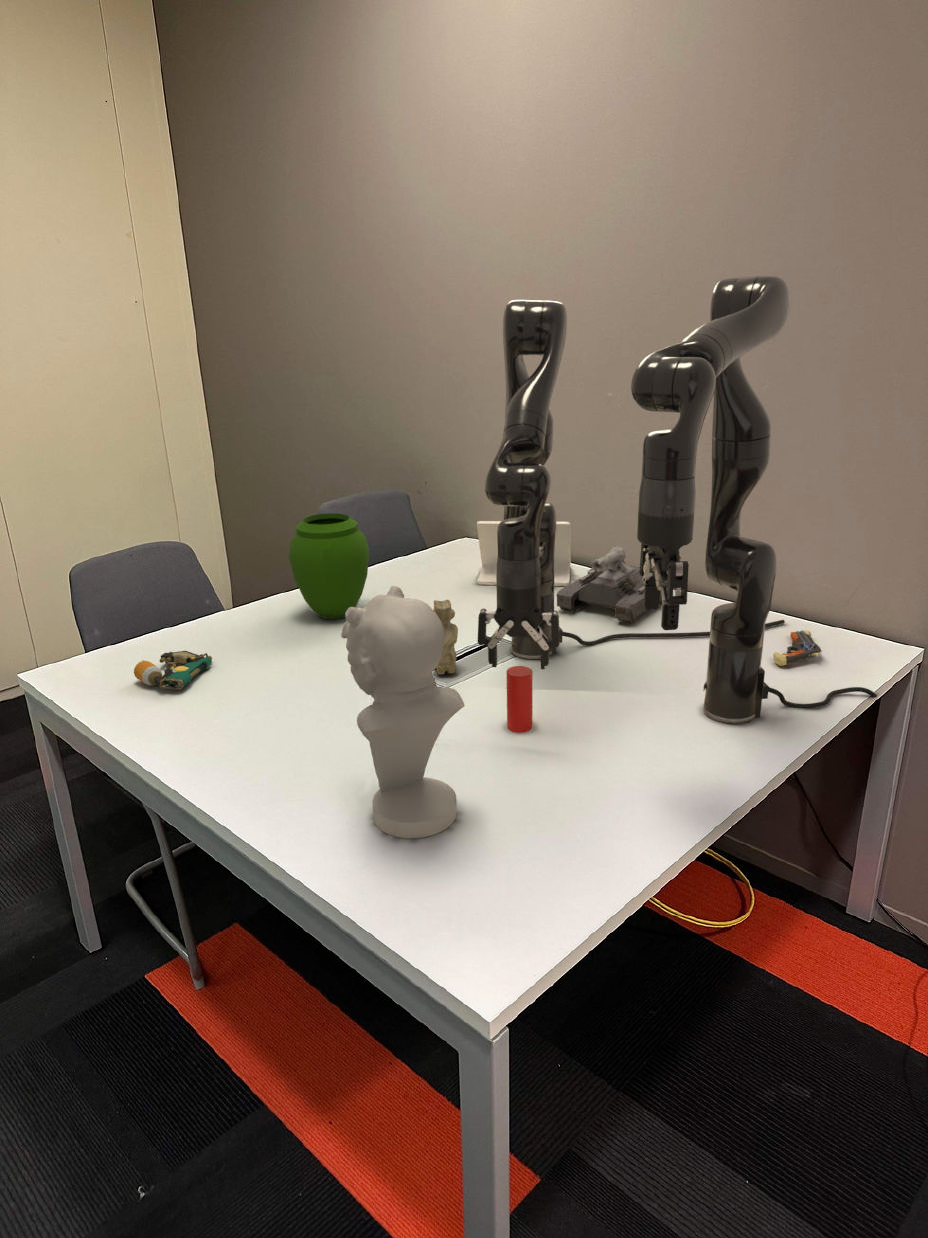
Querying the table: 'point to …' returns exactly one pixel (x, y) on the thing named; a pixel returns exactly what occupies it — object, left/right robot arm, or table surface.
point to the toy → (608, 588)
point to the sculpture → (447, 636)
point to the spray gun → (172, 669)
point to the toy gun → (798, 649)
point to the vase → (329, 563)
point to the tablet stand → (489, 554)
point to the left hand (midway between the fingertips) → (518, 666)
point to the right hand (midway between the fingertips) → (660, 618)
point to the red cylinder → (519, 698)
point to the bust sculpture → (402, 709)
